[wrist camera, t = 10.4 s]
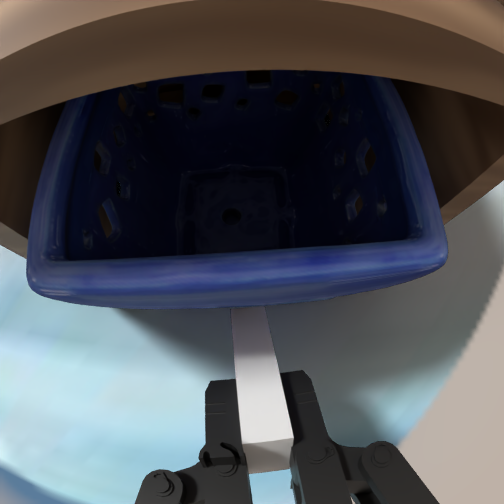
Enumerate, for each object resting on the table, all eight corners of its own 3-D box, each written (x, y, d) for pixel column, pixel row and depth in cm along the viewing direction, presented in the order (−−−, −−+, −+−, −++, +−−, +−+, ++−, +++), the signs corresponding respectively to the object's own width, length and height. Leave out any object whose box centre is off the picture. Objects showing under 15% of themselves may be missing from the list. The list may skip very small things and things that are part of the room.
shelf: (390, 260, 20) (585, 106, 4) (89, 289, 19) (-126, 158, 2) (343, 105, 24) (404, -65, 8) (107, 123, 23) (34, -43, 7)
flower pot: (146, 150, 22) (97, 24, 11) (317, 142, 23) (360, 15, 11) (135, 329, 18) (11, 296, 7) (345, 317, 19) (467, 273, 7)
